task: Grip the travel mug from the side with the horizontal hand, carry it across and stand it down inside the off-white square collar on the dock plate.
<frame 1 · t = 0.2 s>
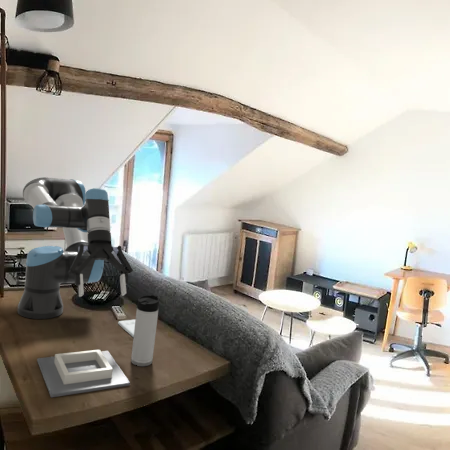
hand: (103, 295, 143), 15 cm above the worktop, tool tilted 35°, fingers open, 13 cm apart
travel mug: (141, 362, 135), on the worktop
external hard drive: (135, 330, 159), on the worktop
dock: (82, 372, 123), on the worktop
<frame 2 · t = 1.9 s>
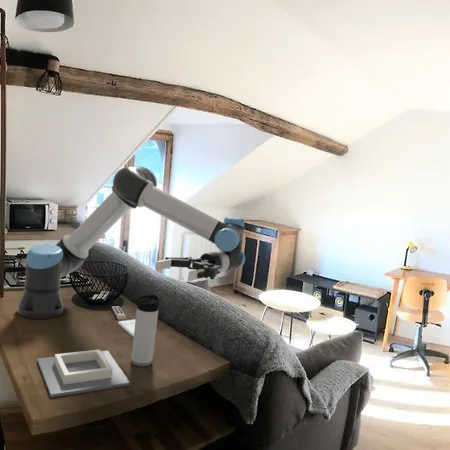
hand: (172, 271, 138), 27 cm above the worktop, tool horizontal, fingers open, 13 cm apart
nothing on the worktop moved.
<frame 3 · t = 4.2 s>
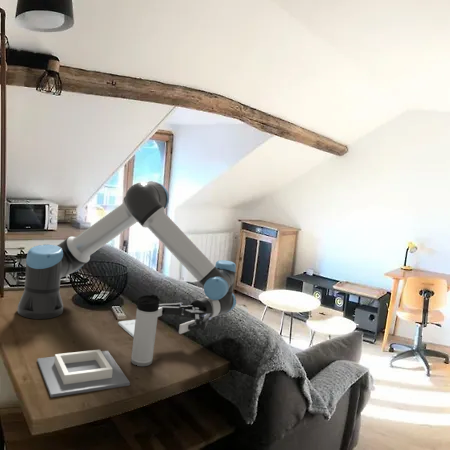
hand: (163, 322, 139), 11 cm above the worktop, tool horizontal, fingers open, 13 cm apart
nothing on the worktop moved.
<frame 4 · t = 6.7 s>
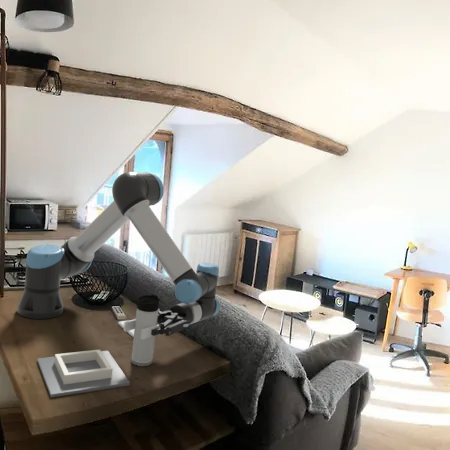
hand: (133, 330, 129), 11 cm above the worktop, tool horizontal, fingers closed on travel mug, 6 cm apart
travel mug: (141, 362, 135), on the worktop, touching gripper
everything else where it was.
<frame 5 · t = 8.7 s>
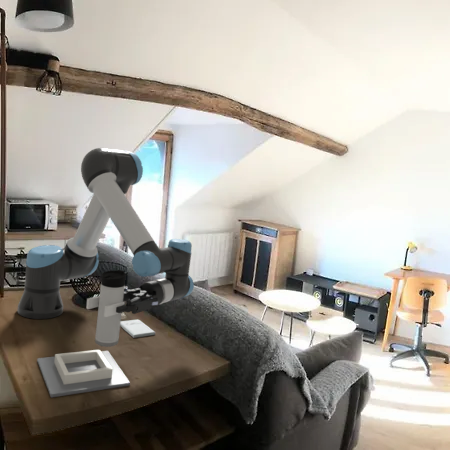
hand: (96, 307, 119), 20 cm above the worktop, tool horizontal, fingers closed on travel mug, 6 cm apart
travel mug: (106, 342, 125), point 8 cm above the worktop, touching gripper
everything else where it was.
when the fingers open (13 cm above the worktop, at t = 10.7 s): travel mug drops 1 cm, resting on dock.
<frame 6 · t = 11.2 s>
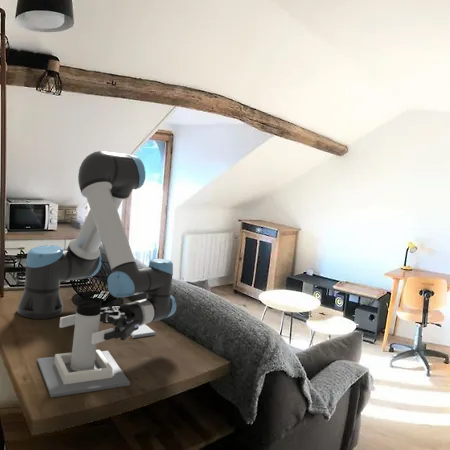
hand: (76, 330, 119), 13 cm above the worktop, tool horizontal, fingers open, 13 cm apart
travel mug: (82, 370, 123), point 1 cm above the worktop, touching dock
everything else where it was.
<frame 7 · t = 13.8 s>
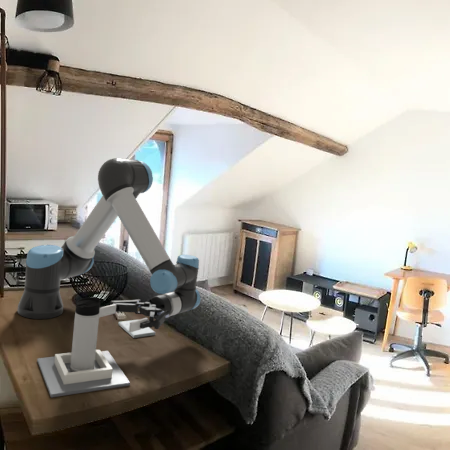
hand: (113, 320, 129), 13 cm above the worktop, tool horizontal, fingers open, 13 cm apart
nothing on the worktop moved.
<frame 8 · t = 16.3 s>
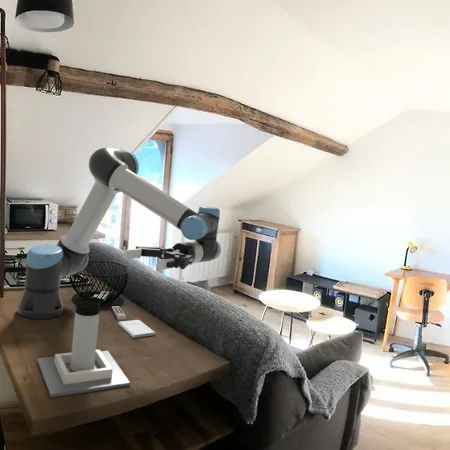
hand: (140, 260, 133), 30 cm above the worktop, tool horizontal, fingers open, 13 cm apart
nothing on the worktop moved.
at the end: travel mug 0.1 cm off-centre on the dock, point 0.6 cm above the dock's base; travel mug tilted 0°; the gripper is holding nothing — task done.
